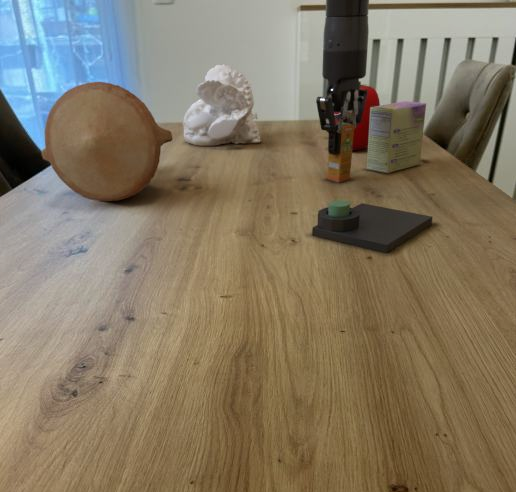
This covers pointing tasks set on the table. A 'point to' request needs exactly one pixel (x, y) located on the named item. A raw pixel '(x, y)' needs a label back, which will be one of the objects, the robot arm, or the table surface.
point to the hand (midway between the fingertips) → (340, 151)
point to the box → (395, 136)
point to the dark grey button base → (371, 226)
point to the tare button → (339, 208)
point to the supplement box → (342, 156)
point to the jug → (103, 141)
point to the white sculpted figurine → (222, 110)
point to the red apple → (364, 119)
